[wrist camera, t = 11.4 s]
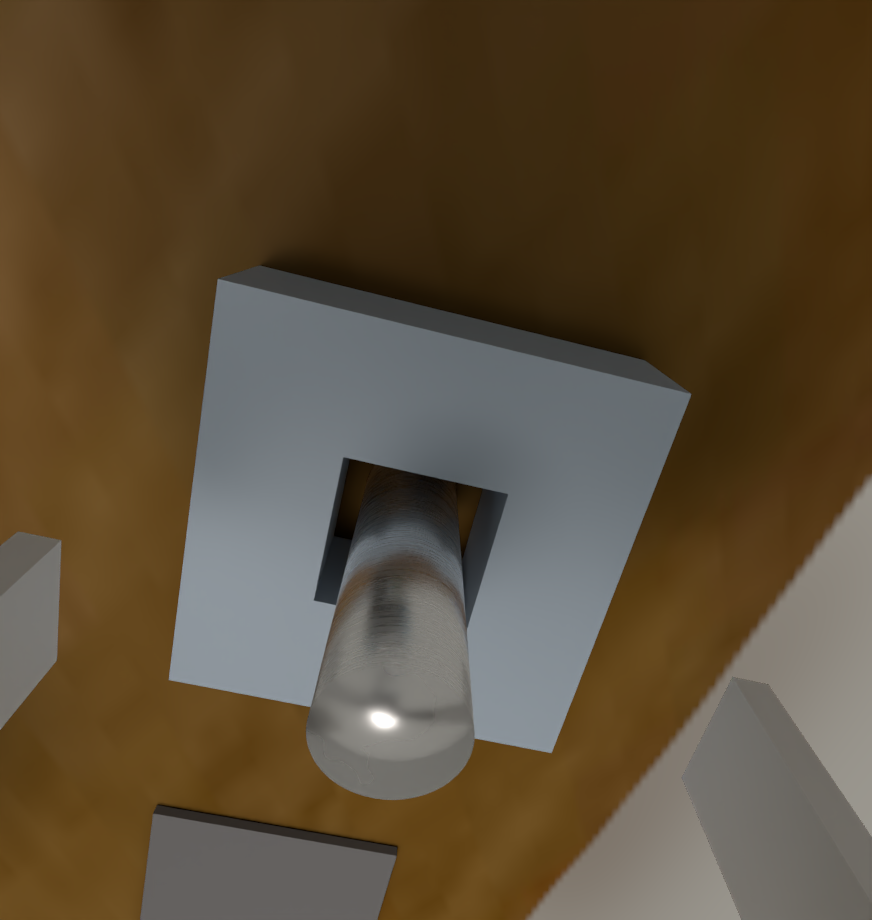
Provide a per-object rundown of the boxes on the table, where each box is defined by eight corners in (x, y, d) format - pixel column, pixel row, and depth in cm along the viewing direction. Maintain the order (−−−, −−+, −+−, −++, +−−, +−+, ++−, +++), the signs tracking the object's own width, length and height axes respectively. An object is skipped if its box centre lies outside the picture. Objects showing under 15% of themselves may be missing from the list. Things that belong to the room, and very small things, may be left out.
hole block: (211, 605, 24) (168, 679, 20) (259, 265, 20) (217, 278, 16) (533, 670, 25) (551, 752, 21) (644, 360, 21) (691, 394, 17)
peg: (358, 521, 22) (293, 783, 12) (375, 439, 21) (321, 652, 11) (444, 539, 23) (452, 811, 12) (465, 459, 22) (493, 685, 11)
